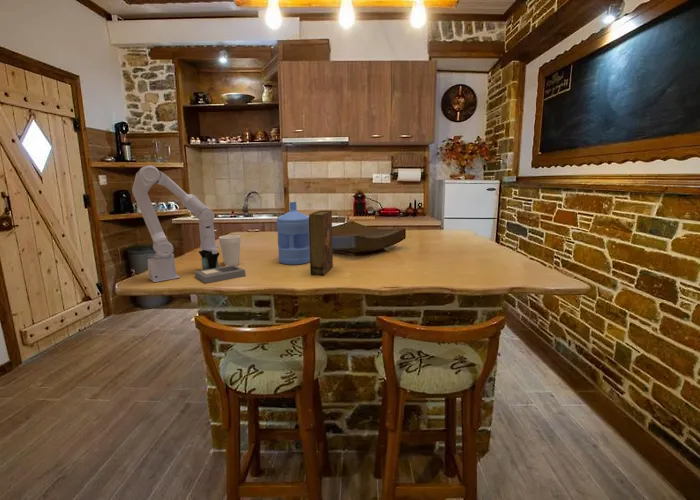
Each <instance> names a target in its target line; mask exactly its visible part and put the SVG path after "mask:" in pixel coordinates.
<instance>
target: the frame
mask: <svg viewBox="0 0 700 500" xmlns="http://www.w3.org/2000/svg"><path fill="white" fill-rule="evenodd" d="M194 276H195V278H196V279H197V278H198V279H197V280H198V281H200V282H202V283H204V284H213V283H216V282H217V283H218V282H222V281H227V280H233V279H236V278H241V277H243V278H244V277H246V270H245V269H244V268H241V267H239V266H238V265H229V266H225V265H224V266H218V267H217V268H211V269H206V270H203V269H201V270H200V269H199V270H196V271H194Z"/></svg>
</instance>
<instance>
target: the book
mask: <svg viewBox="0 0 700 500" xmlns="http://www.w3.org/2000/svg"><path fill="white" fill-rule="evenodd" d="M332 215H333V213H332V210H318V211H315V212H312V213H309V214H308V217H309V241H310V262H309V266H310V268H309V270H310V275H312V276H313V275H320V276H325V275H326V274H327V273H328V272H329V271H330V270H331V269H332V268H333V267H334V263H333V216H332Z"/></svg>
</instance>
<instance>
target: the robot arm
mask: <svg viewBox="0 0 700 500" xmlns="http://www.w3.org/2000/svg"><path fill="white" fill-rule="evenodd" d="M133 181H134V182H133V186H132V189H131V191H132V195H133V196H134V200H135V201H136V204H137V207H138V209H139V211H140V213H141V216H142V219H143V220H144V223H145V225H146V227H147V229H148V230H147V231H148V232H149V234H150V238H151V239H152V249H153V250H154V252H155V253H154V255H153V257H151V258H148V259H147V270H148V277H149V278H148V279H150V280H151V281H152V282H153V283H158V282H163V281H169V280H174V279H179V278H180V276H179V275H178V274H177V272H176V262H175V253H174V246H173V244H172V243H171V242H170V241H169V240H168V237H167V236H166V235H165V231H164V230H163V228H162V225H161V223H160V220H159V217H158V215H157V213H156V210H155V208H154V205H153V203H152V200H151V199H150V197H149V194H148V192H149V191H150V189H151V187H152V186H153V185H154V184H156V185H160V186H164V187H165V188H167V190H169V191H170V192H171V193H173V194H174V195H175V196H176V197H178V198H179V199H180V200H181V204H182V207H185V208H186V209H187V210H188V211H189V212H191V213H192V215H194V216H196V218H197V219H198V224H199V225H198V228H199V239H200V245H199V247H200V250H198V253H199V255H200V256H201V258H204V257H206V258H207V260H208V264H209V268H210V269H211V268H216V262H217V258H219V256H220V252H219V251H218V248H219V245H218V244H216V238H215V237H216V236H215V226H214V220H215V217H216V216H215V214H214V211H213V210H212V209H211V208H208V205H207V204H204V203H203V202H202V201H201V200H199V197H198V196H197V195H196V194H195V195H194V194H191V193H187V192H186V191H184V190H183V189H182V188H181V187H180V185H178V184H177V183H176V182H175V181H174V180H172V178H171V177H169V176H168V175H167V174H165V172H162V171H161V170H159V169H158V168H157V167H155V166H153V165H144V166H142V167H140V169H139V170H138V171H137V172H136V173H135V178H134V180H133Z"/></svg>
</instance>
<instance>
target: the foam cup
mask: <svg viewBox="0 0 700 500" xmlns="http://www.w3.org/2000/svg"><path fill="white" fill-rule="evenodd" d="M241 241H242V240H241V235H240V234H239V235H238V234H227V235H226V234H225V235H220V236H219V237H218V244H219V246H220V251H221V255H222V259H223V264H224V266H225V265H228V266H229V265H235V266H238V265H239V264H240V252H241Z"/></svg>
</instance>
